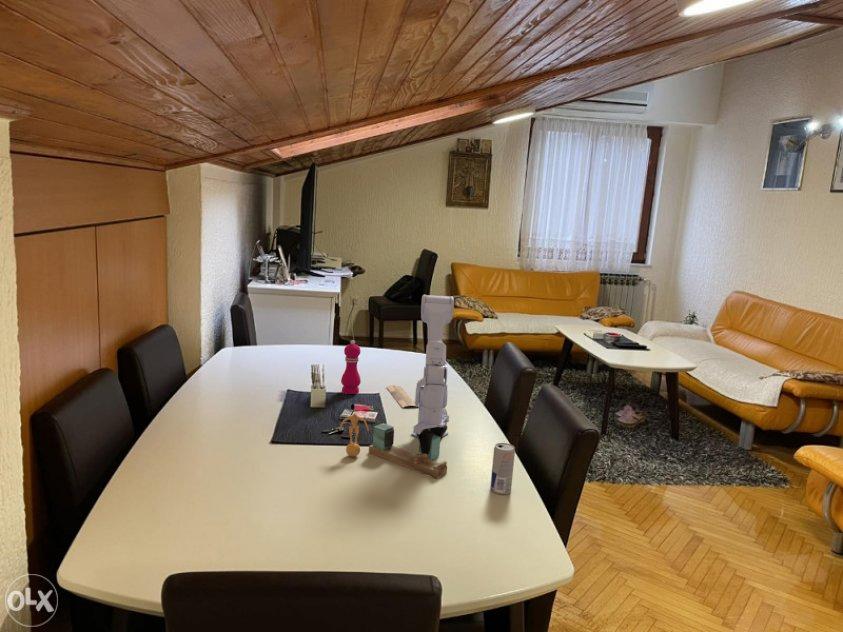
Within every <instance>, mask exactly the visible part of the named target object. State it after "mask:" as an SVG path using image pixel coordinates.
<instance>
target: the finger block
mask: <svg viewBox="0 0 843 632" xmlns="http://www.w3.org/2000/svg"><path fill="white" fill-rule="evenodd" d="M440 448H441V442H440V437H439V436H437V435H434V436H433V438H432V441H431V444H430V451H429V454H427V459H430V460H432V461H434V459H438V458H439V457H440ZM418 453H419V456H421V455H423V454H424V453H422V452H421V447H420V445H419V448H418Z"/></svg>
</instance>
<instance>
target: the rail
mask: <svg viewBox="0 0 843 632" xmlns="http://www.w3.org/2000/svg"><path fill="white" fill-rule="evenodd" d="M372 437H373V439H372V444H370V445H369V446H368V453H369V454H372V455H374V456H377V457H379V458H382V459H385V460H386V461H390V462H392V463H394V464H397V465H401V466H403V467H405V468H408V469H409V470H413V471H415V472H418V473H421V474H424V475H426V476H428V477H431V478H432V479H433V478H434V479H438V478H440V477H441V476H444V475H446V474H447V473H448V465H447V463H448V461H446V460H442V461H441V462H437V461H435V460H430V459H427V454H423V455H421V456H420V454H416V453H413V452H410V451H409V450H408V451H407V450H405V449H402V448H400V447H398V446H394V441H395V440H394V439H395V429H394V426H392V425H389V424H387V423H380V424H377V425H375V426H373V435H372Z"/></svg>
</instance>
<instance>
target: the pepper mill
mask: <svg viewBox="0 0 843 632" xmlns="http://www.w3.org/2000/svg"><path fill="white" fill-rule="evenodd" d="M343 349H344V350H343V353H344V355H345V357H344V358H345V359H344V361H345V363H346V365H345V370H344V372H343V373H342V376H341V379H340V380H341V381H340V382H341V384H342V387H341V393H342V392H343V393H342V394H344V393H346V394H345V395H347V394H355V395H358V394H359V393H360V388H359V386H360V384H361V381H362V380H361V376H360V374H359V371H358V362H359V361H360V360H359V359H360V358H359V356H360V355H361V348H360V346H359V345H358V344H356V340H354V339H351V340H350V344H347V345H346V346H345V347H344V348H343ZM357 393H358V394H357Z"/></svg>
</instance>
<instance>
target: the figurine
mask: <svg viewBox="0 0 843 632" xmlns="http://www.w3.org/2000/svg"><path fill="white" fill-rule="evenodd" d="M348 420H350V422H351V425H349V427H348V428H349V430H348V431H349V438H350V439H349V441H350V442H349V443H348V444H347V446H346V447H345V451H346V454H347V456H348V457H350V458H351V457H352V458H354V457H357V456H359V455H360V452H361V447H360V445H359V443H358V437H359V433H360V431H359V429H360V426H359V425H358V423H359V421H362V422H364V425H365V427H366V430H367V432H369V426H368V424H367V421H366V419H364V418H362V417H361V416H358V414H356V413H353V414H352V415H350V416H348V417H346V418H344V419H343V420H342V422H341V423H340V426H339V429H338V430H339V431H341V429H342V427H343V426H344V423H345V421H348ZM353 432H354V433H355V436H354V437H355V438H354V439H355V440H354V442H353V434H352V433H353Z"/></svg>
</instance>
